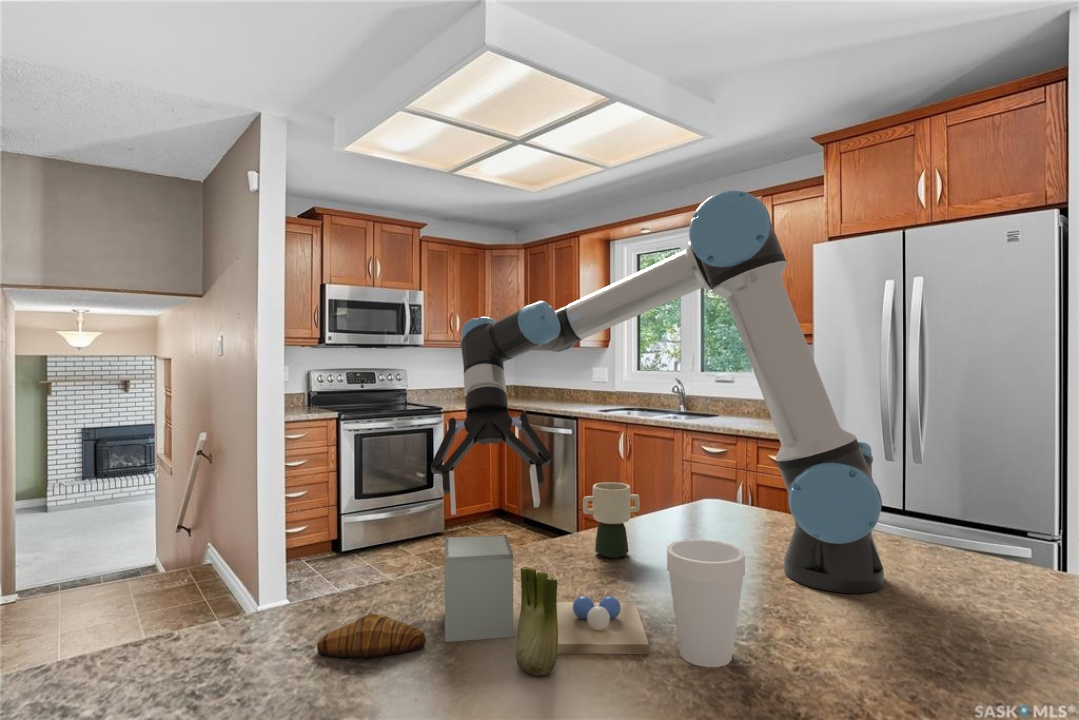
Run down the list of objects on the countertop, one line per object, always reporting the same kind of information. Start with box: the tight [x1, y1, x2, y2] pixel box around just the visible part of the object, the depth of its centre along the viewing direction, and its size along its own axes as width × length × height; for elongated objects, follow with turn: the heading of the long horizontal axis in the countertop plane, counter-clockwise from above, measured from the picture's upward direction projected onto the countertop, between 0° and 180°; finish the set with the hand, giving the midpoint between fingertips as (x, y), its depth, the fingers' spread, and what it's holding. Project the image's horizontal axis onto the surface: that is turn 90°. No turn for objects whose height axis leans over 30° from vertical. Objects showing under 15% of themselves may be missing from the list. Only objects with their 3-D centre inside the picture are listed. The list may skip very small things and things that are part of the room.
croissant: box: [316, 613, 427, 659], centre depth 78 cm, size 14×7×5 cm, turn 97°
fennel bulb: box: [515, 566, 558, 677], centre depth 73 cm, size 6×5×12 cm
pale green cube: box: [444, 534, 514, 643], centre depth 85 cm, size 9×9×11 cm
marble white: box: [587, 606, 610, 631], centre depth 81 cm, size 3×3×3 cm
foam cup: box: [666, 538, 746, 668], centre depth 76 cm, size 10×9×13 cm
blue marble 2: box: [599, 595, 621, 619], centre depth 84 cm, size 3×3×3 cm
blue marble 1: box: [573, 595, 594, 619], centre depth 84 cm, size 3×3×3 cm
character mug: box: [582, 481, 641, 558], centre depth 114 cm, size 11×7×13 cm, turn 99°
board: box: [557, 601, 650, 655], centre depth 83 cm, size 16×13×1 cm
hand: (495, 508), depth 99 cm, fingers open, 13 cm apart
